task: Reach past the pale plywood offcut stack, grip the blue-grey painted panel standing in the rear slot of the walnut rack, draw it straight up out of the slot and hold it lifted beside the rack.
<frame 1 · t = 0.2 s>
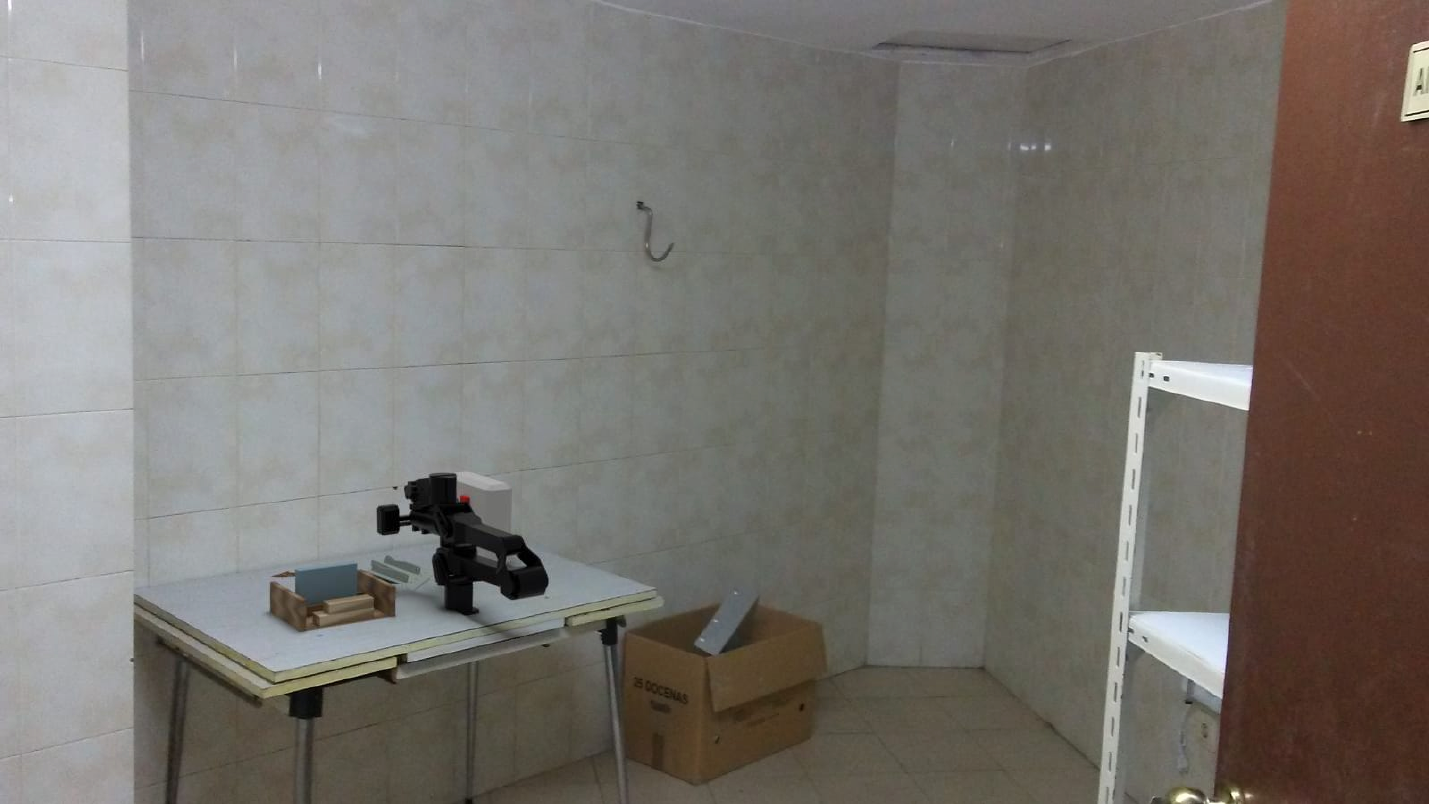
hand: (400, 510, 258), 17 cm above the table, tool horizontal, fingers open, 9 cm apart
panel: (326, 610, 235), point 1 cm above the table, touching rack
rack: (332, 618, 233), on the table
upper offcut: (348, 609, 229), point 3 cm above the table, touching lower offcut
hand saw: (257, 586, 256), on the table
metal bracket: (397, 584, 262), on the table
lower offcut: (343, 620, 229), point 1 cm above the table, touching rack, upper offcut
bevelled white case: (475, 559, 285), on the table
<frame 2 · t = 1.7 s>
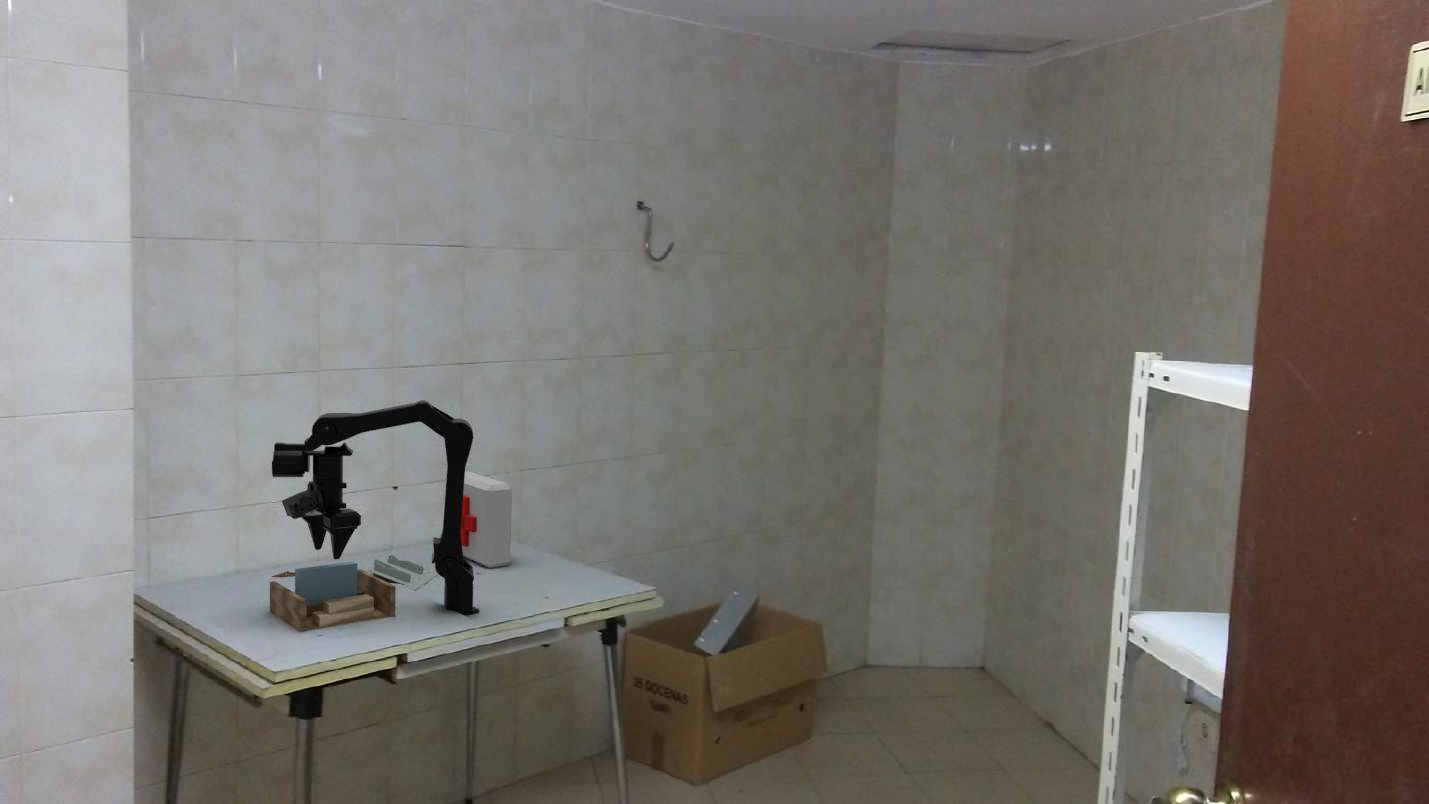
hand: (327, 554, 234), 12 cm above the table, tool pointing down, fingers open, 9 cm apart
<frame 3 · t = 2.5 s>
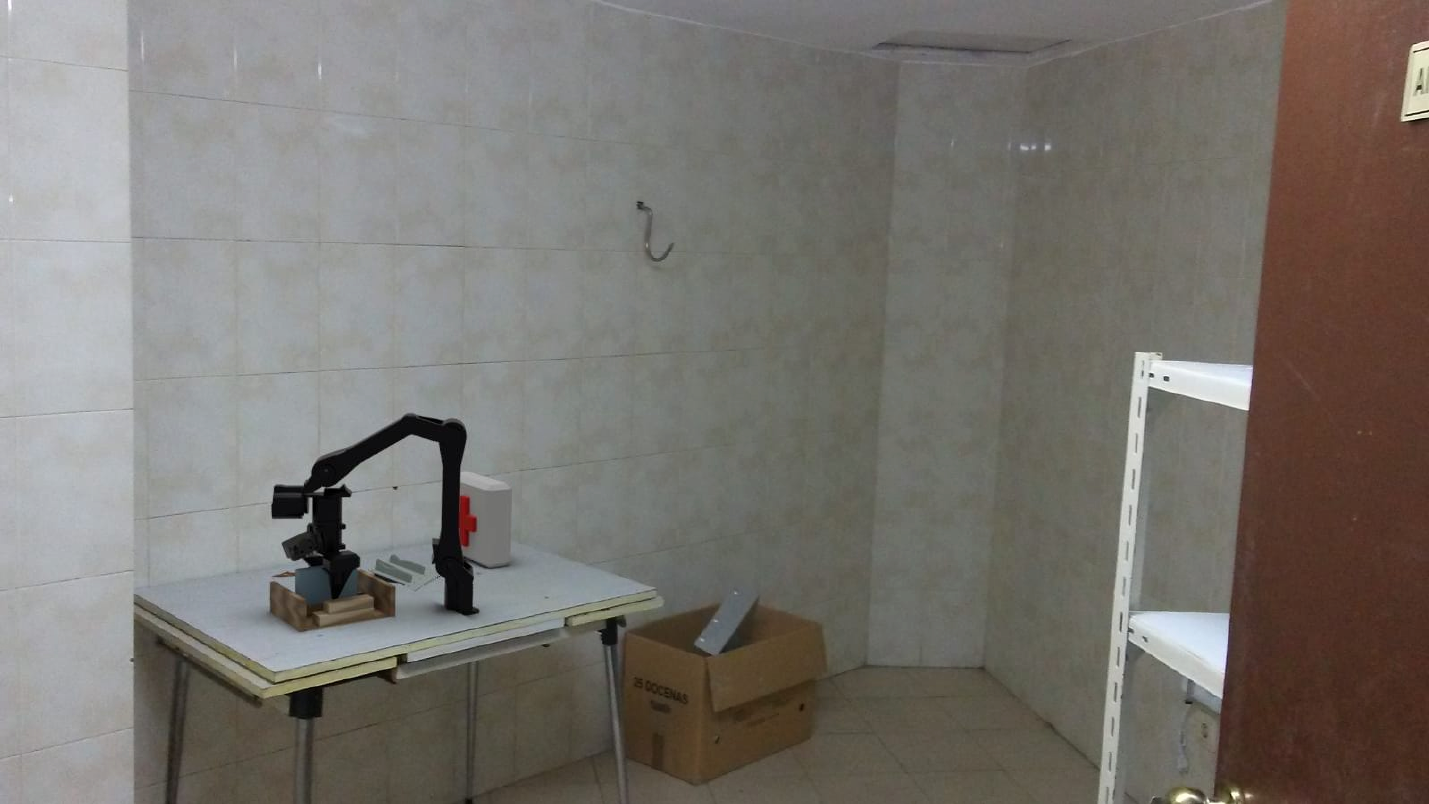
hand: (326, 595, 235), 4 cm above the table, tool pointing down, fingers open, 8 cm apart
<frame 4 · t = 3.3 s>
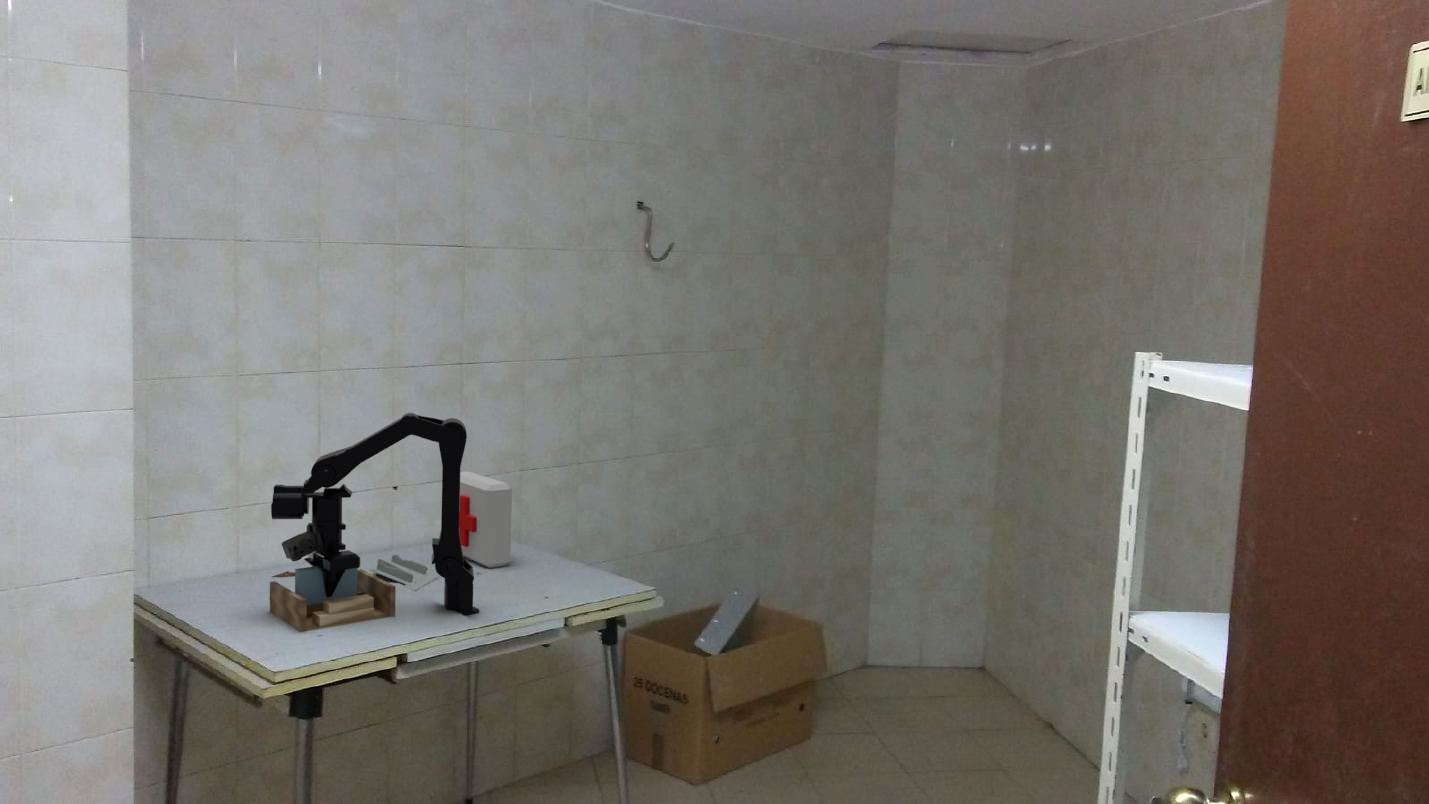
hand: (326, 595, 235), 4 cm above the table, tool pointing down, fingers closed on panel, 2 cm apart
panel: (326, 610, 235), point 1 cm above the table, touching gripper, rack
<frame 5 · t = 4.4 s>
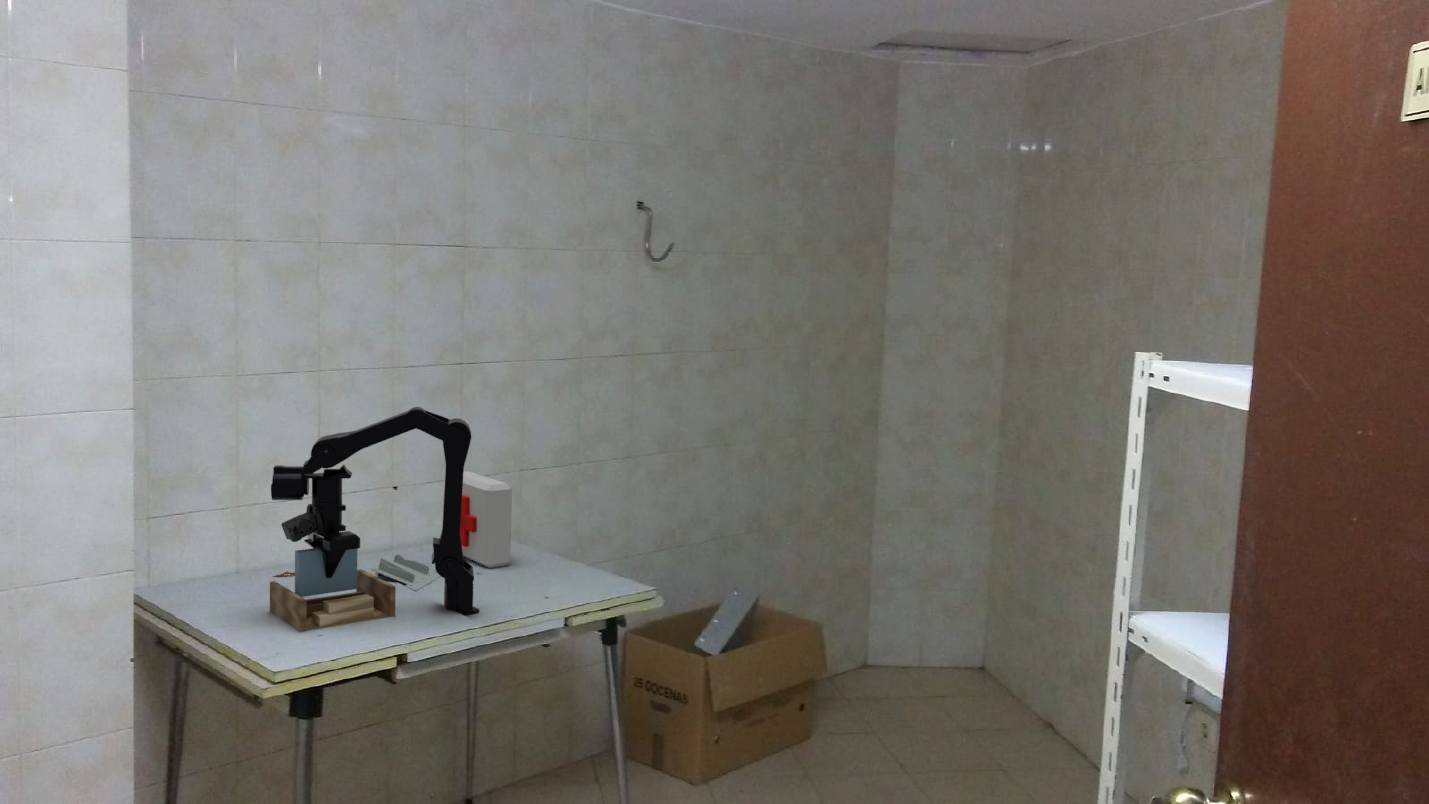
hand: (326, 576, 234), 8 cm above the table, tool pointing down, fingers closed on panel
panel: (326, 592, 235), point 5 cm above the table, touching gripper
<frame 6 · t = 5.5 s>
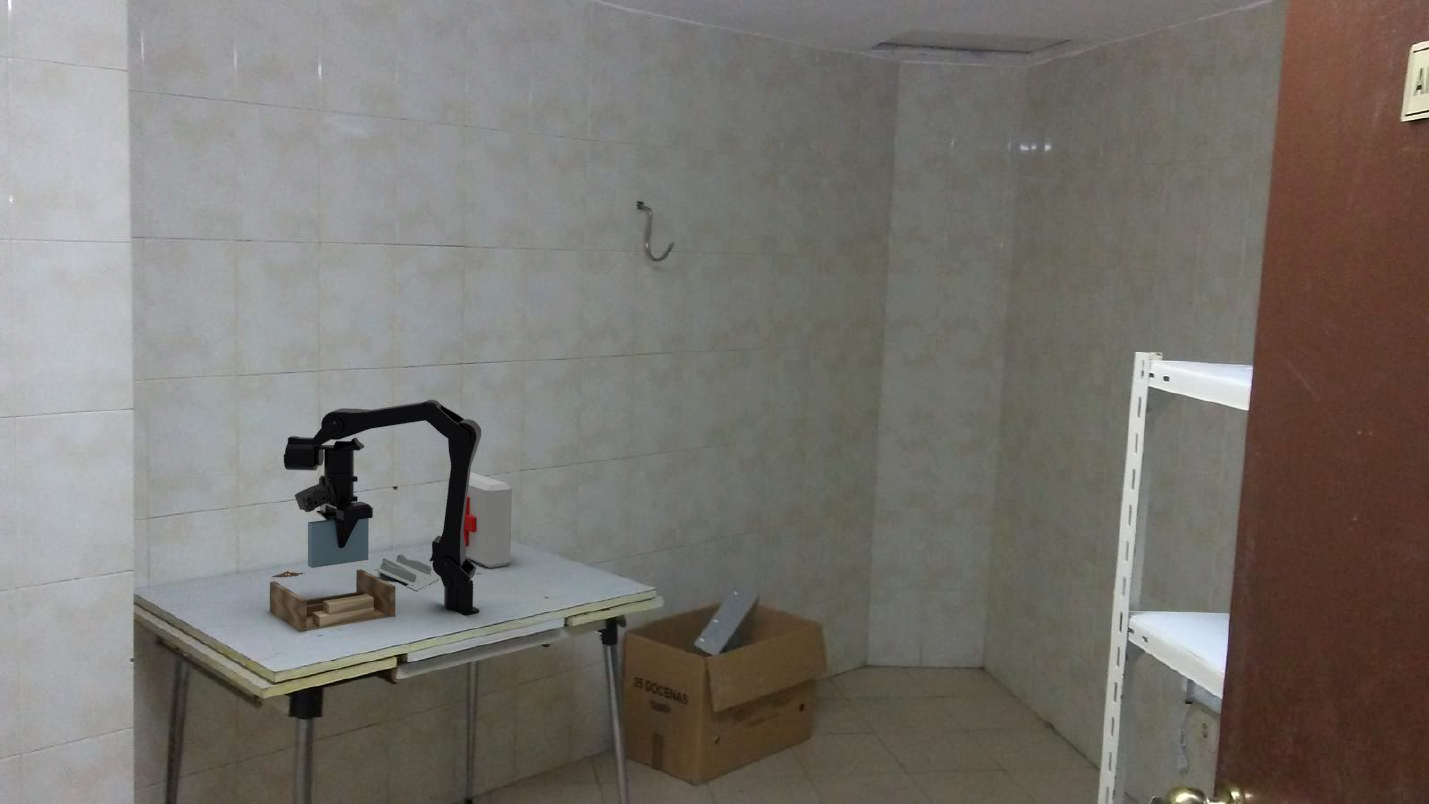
hand: (338, 546, 239), 13 cm above the table, tool pointing down, fingers closed on panel
panel: (338, 562, 239), point 10 cm above the table, touching gripper
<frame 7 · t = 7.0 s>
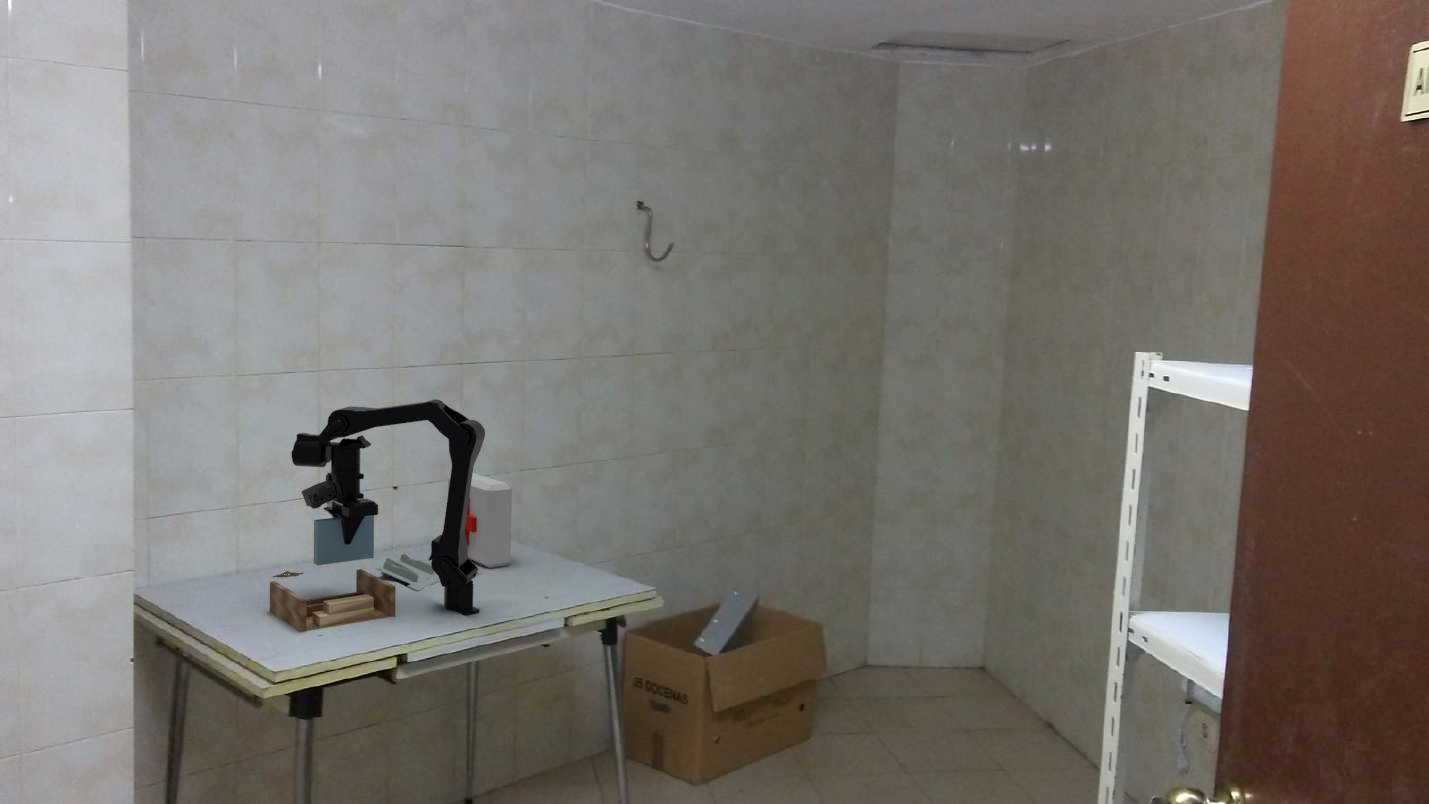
hand: (345, 543, 242), 13 cm above the table, tool pointing down, fingers closed on panel
panel: (344, 560, 242), point 9 cm above the table, touching gripper
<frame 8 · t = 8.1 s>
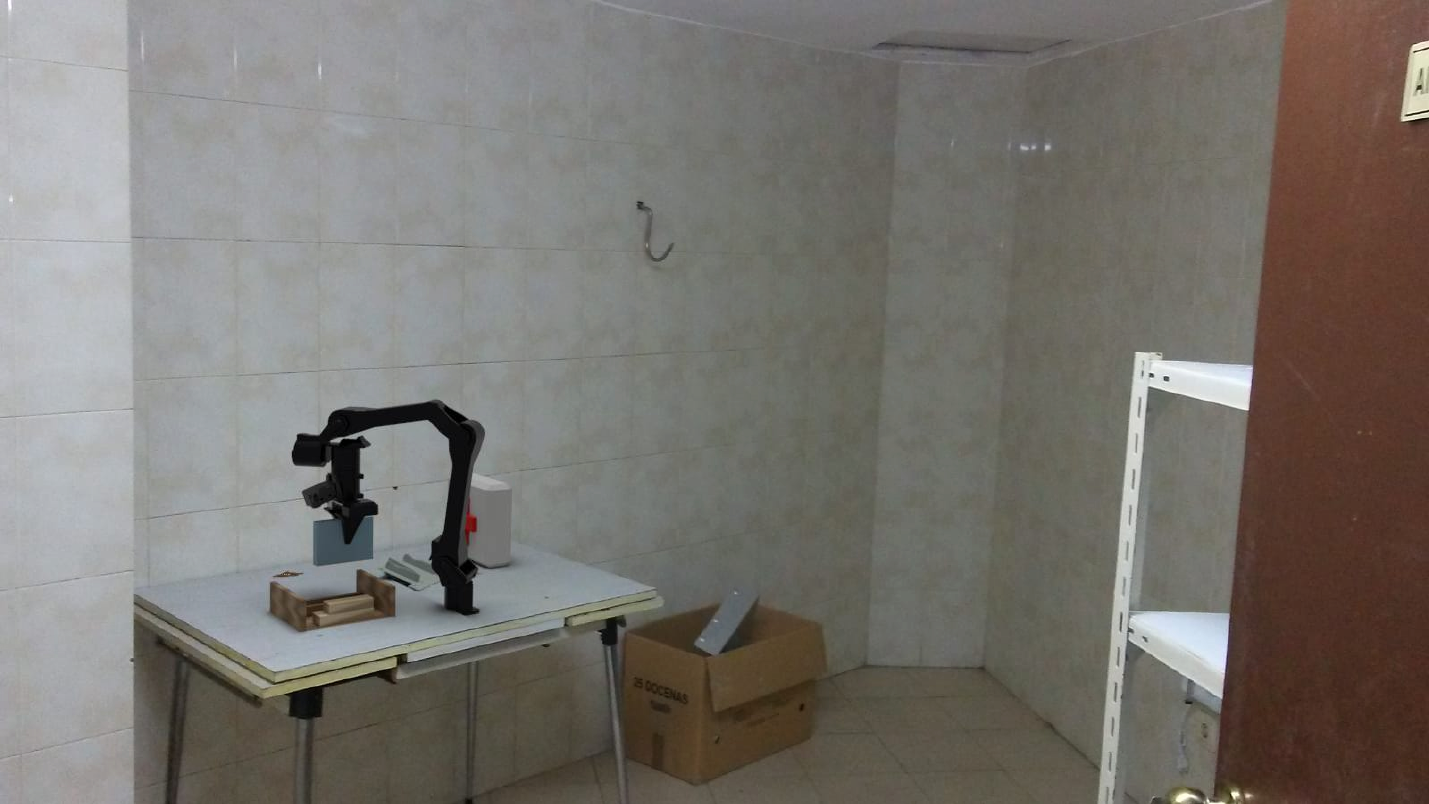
hand: (345, 543, 242), 13 cm above the table, tool pointing down, fingers closed on panel
panel: (343, 561, 242), point 9 cm above the table, touching gripper
at the end: the gripper is holding panel; panel point 9.1 cm above the table; upper offcut moved 0.0 cm from its start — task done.
